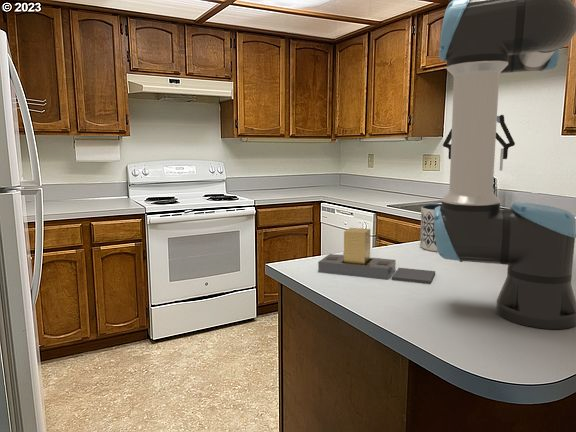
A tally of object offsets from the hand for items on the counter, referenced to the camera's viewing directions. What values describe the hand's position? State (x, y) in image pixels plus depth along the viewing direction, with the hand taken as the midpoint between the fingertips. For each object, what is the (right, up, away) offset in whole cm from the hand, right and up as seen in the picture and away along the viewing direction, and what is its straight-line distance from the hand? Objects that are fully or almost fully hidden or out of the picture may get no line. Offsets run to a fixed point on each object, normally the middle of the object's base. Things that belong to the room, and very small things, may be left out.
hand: (476, 170), depth 139 cm
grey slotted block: (-38, -30, -9) cm, 50 cm away
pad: (-24, -31, -16) cm, 42 cm away
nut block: (-38, -30, -9) cm, 50 cm away
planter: (-4, -26, +18) cm, 31 cm away
